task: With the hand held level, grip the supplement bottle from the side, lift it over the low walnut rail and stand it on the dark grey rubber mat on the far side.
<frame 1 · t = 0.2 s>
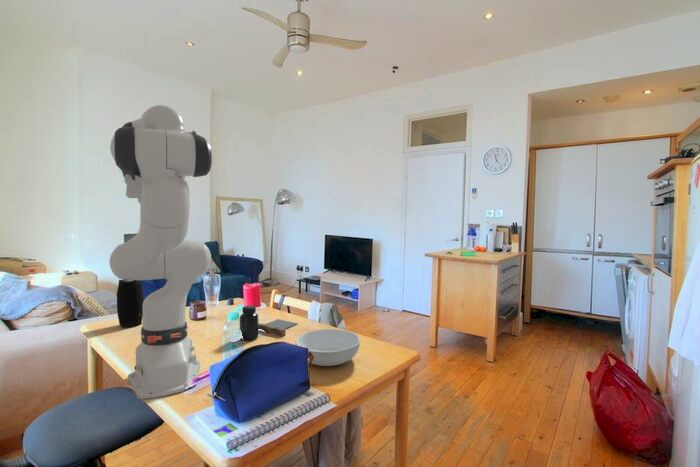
hand: (159, 211, 125), 48 cm above the table, tool pointing down, fingers open, 8 cm apart
walnut rail: (264, 331, 137), on the table
grey mat: (279, 325, 145), on the table
portable speaker: (130, 325, 143), on the table
serving bowl: (327, 360, 112), on the table
supplement bottle: (249, 338, 130), on the table
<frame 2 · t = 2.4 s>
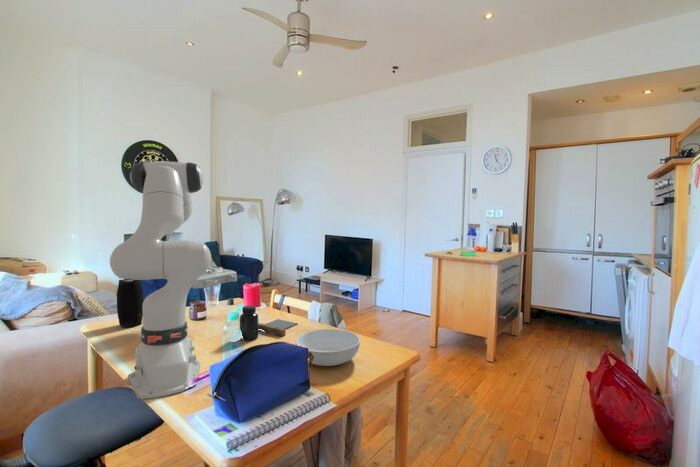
hand: (226, 281, 135), 20 cm above the table, tool horizontal, fingers open, 8 cm apart
nothing on the table moved.
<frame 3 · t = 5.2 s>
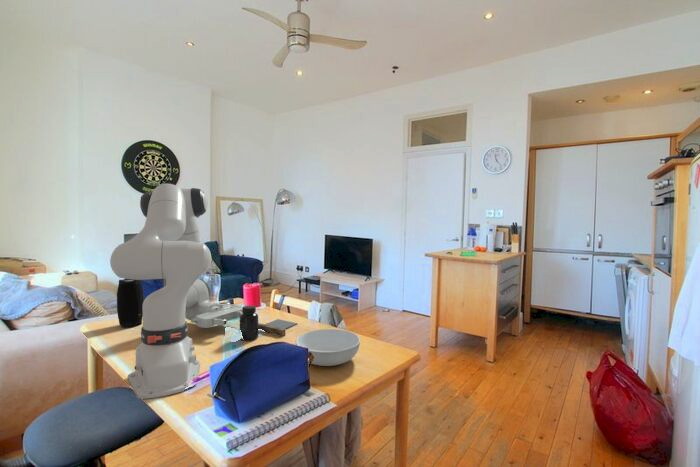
hand: (234, 319, 133), 6 cm above the table, tool horizontal, fingers open, 8 cm apart
nothing on the table moved.
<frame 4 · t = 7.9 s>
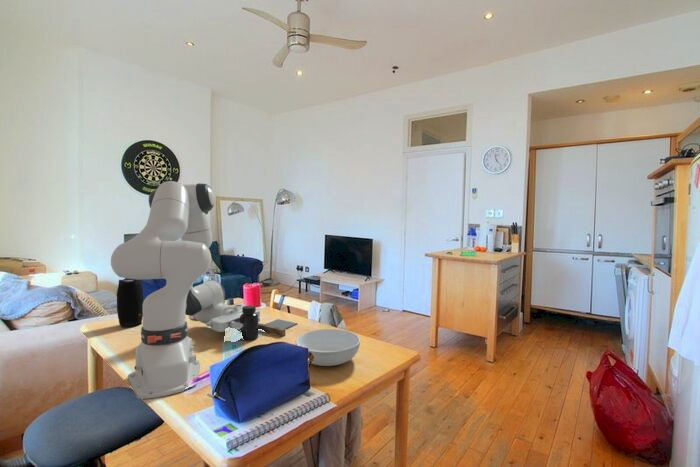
hand: (250, 322, 129), 6 cm above the table, tool horizontal, fingers closed on supplement bottle, 7 cm apart
supplement bottle: (249, 338, 130), on the table, touching gripper
everything else where it was.
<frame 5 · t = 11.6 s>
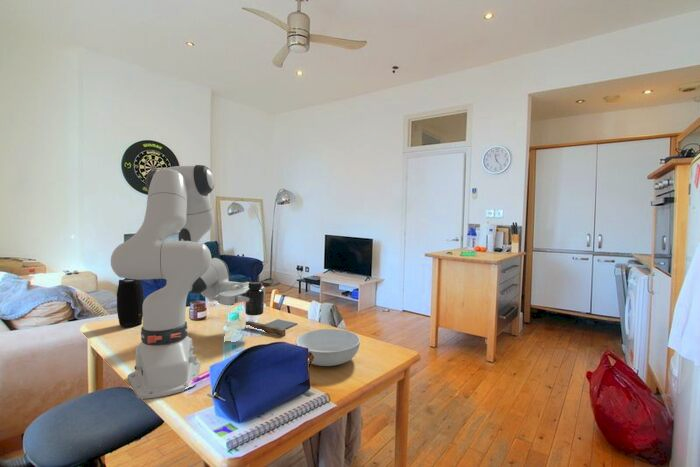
hand: (256, 297, 132), 15 cm above the table, tool horizontal, fingers closed on supplement bottle, 7 cm apart
supplement bottle: (254, 314, 132), point 8 cm above the table, touching gripper
everything else where it was.
when the fingers open (8 cm above the table, at t = 15.1 s): supplement bottle stays where it is, resting on grey mat.
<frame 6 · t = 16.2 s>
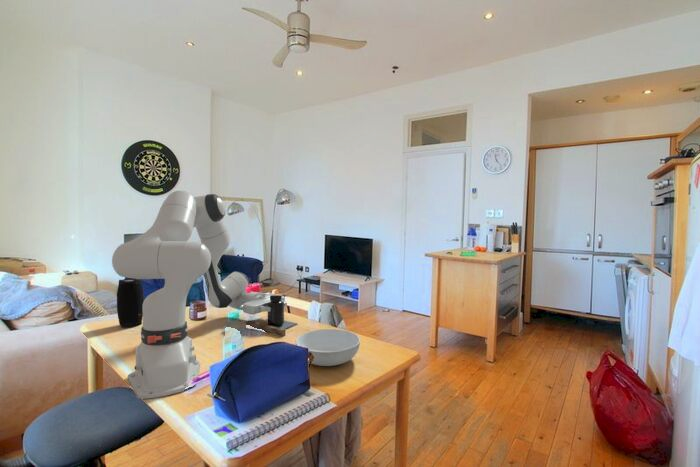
hand: (278, 306, 144), 8 cm above the table, tool horizontal, fingers open, 8 cm apart
supplement bottle: (275, 324, 144), point 1 cm above the table, touching grey mat
everything else where it was.
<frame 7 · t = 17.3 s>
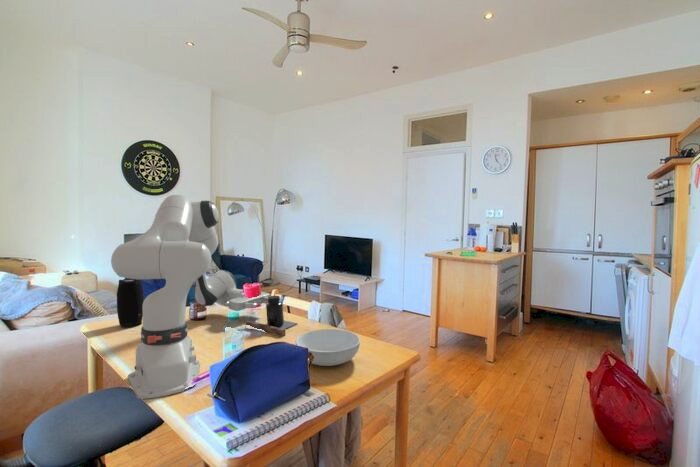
hand: (263, 303, 149), 8 cm above the table, tool horizontal, fingers open, 8 cm apart
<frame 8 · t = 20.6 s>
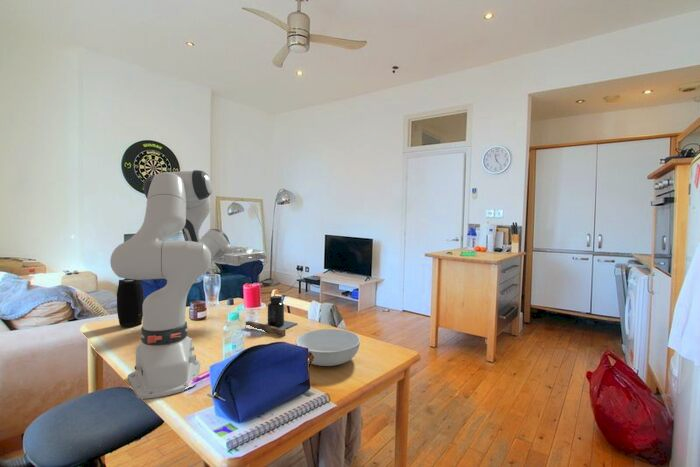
hand: (258, 258, 149), 28 cm above the table, tool horizontal, fingers open, 8 cm apart
at the end: supplement bottle 1.6 cm from the grey mat (horizontally); supplement bottle tilted 2°; the gripper is holding nothing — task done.
